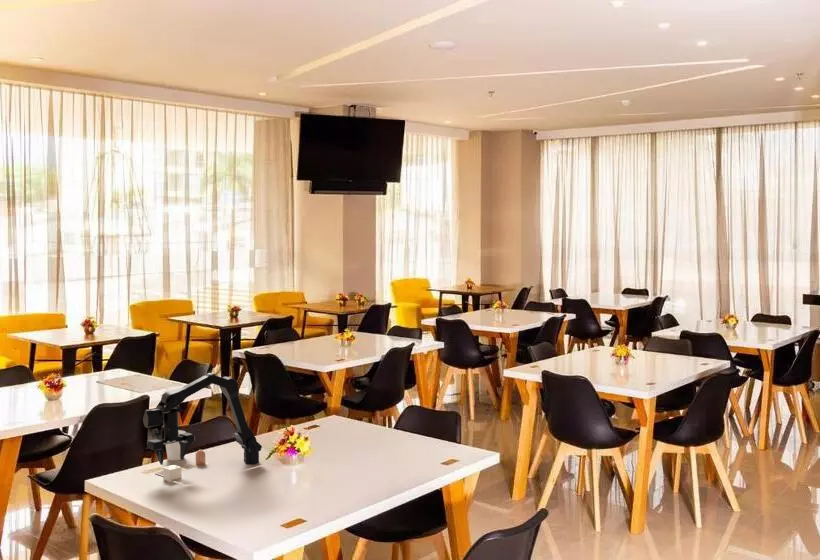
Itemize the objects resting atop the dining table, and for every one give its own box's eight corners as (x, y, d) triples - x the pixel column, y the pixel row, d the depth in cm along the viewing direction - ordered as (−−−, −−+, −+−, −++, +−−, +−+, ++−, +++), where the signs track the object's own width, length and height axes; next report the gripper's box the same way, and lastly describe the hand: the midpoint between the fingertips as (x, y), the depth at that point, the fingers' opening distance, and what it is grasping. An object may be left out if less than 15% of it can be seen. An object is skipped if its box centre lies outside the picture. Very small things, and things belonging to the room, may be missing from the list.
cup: (160, 461, 352) (160, 433, 351) (175, 455, 360) (175, 429, 359) (176, 463, 348) (175, 436, 347) (191, 458, 356) (190, 431, 355)
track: (202, 462, 350) (202, 460, 349) (211, 465, 345) (211, 463, 345) (154, 474, 332) (154, 472, 332) (163, 477, 328) (163, 475, 328)
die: (181, 479, 326) (181, 466, 326) (170, 482, 322) (169, 469, 322) (174, 476, 329) (174, 464, 329) (163, 479, 326) (163, 467, 325)
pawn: (207, 463, 345) (207, 449, 345) (199, 465, 342) (199, 451, 342) (201, 461, 348) (201, 448, 347) (193, 463, 345) (193, 450, 344)
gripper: (180, 416, 337) (180, 453, 338) (139, 424, 323) (139, 463, 324) (195, 420, 329) (196, 458, 330) (153, 429, 315) (154, 468, 316)
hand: (171, 462), depth 325 cm, fingers open, 9 cm apart
